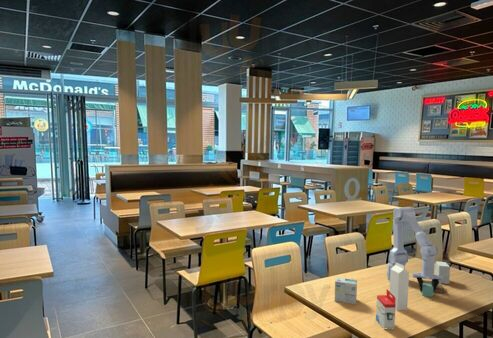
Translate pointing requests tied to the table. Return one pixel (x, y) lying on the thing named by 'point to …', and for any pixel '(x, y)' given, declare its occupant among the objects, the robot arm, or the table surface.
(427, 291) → the teal block
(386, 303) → the ink box
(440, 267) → the small box
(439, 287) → the walnut slab
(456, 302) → the table surface
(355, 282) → the light bulb box
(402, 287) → the milk
